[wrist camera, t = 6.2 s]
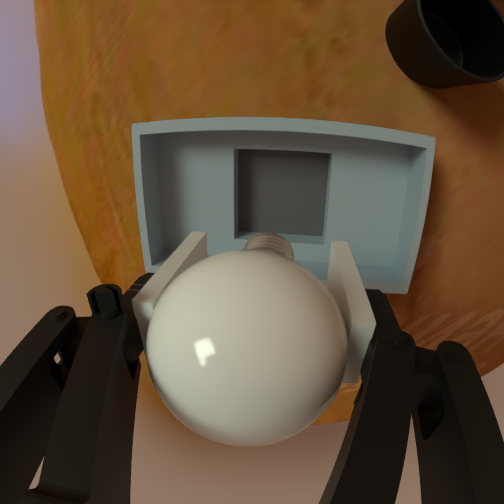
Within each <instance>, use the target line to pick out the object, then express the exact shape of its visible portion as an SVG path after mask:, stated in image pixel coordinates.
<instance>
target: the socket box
mask: <svg viewBox="0 0 504 504" xmlns="http://www.w3.org/2000/svg"><path fill="white" fill-rule="evenodd" d="M435 140H436V138H435V137H431V136H426V135H421V134H416V133H411V132H406V131H400V130H394V129H388V128H382V127H375V126H368V125H361V124H353V123H344V122H334V121H323V120H311V119H295V118H270V117H218V118H194V119H178V120H165V121H155V122H145V123H136V124H132V145H133V163H134V177H135V189H136V200H137V210H138V219H139V227H140V235H141V243H142V250H143V257H144V263H145V270H146V273H148V272H150V273H156V271H157V270H158V269H159V268H160V267H161V266H162V265H163V263H164V262H165V261H166V260H167V259H168V258H169V257H170V256H171V254H172V253H173V252H174V251H175V250H176V249H177V248H178V247H179V246H180V244H181V243H182V242H183V241H184V240H185V239H186V238H187V237H188V236H189V235H190V233H191V232H192V231H193V232H207V254H208V257H209V256H212V255H215V254H218V253H222V252H226V251H232V250H244V247H245V245H246V243H247V242H248V241H249V240H250V239H251V238H252V237H253V236H255V235H257V234H260V233H264V232H271V233H276V234H279V235H281V236H283V237H284V238H285V239H286V240H287V241H288V242H289V243H290V244H291V246H292V248H293V251H294V261H295V262H297V263H299V264H301V265H302V266H304V267H305V268H307V269H308V270H309V271H311V272H312V273H313V274H314V275H315V276H316V277H317V278H319V279H320V280H321V282H322V283H323V284H324V285H325V286H326V280H327V273H328V266H329V259H330V251H331V243H332V240H334V241H347V243H348V246H349V248H350V251H351V253H352V256H353V259H354V261H355V264H356V267H357V269H358V272H359V275H360V277H361V280H362V283H363V286H364V288H365V289H379V290H380V291H381V292H382V293H394V294H407V292H408V289H409V285H410V282H411V278H412V274H413V270H414V267H415V263H416V258H417V254H418V250H419V246H420V241H421V236H422V232H423V227H424V221H425V216H426V211H427V205H428V199H429V192H430V185H431V178H432V170H433V161H434V151H435Z"/></svg>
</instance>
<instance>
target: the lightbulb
mask: <svg viewBox="0 0 504 504" xmlns="http://www.w3.org/2000/svg"><path fill="white" fill-rule="evenodd" d="M146 357H147V365H148V369H149V373H150V376H151V380H152V382H153V385H154V387H155V389H156V391H157V393H158V395H159V397H160V399H161V400H162V401H163V403H164V404H165V406H166V407H167V408H168V409H169V411H170V412H171V413H172V414H173V415H174V416H175V417H176V418H177V419H178V420H179V421H180V422H181V423H183V424H184V425H185V426H187V427H188V428H189V429H191V430H192V431H194V432H196V433H197V434H199V435H202V436H203V437H206V438H208V439H210V440H213V441H216V442H219V443H223V444H228V445H234V446H261V445H267V444H272V443H275V442H279V441H282V440H285V439H287V438H290V437H292V436H294V435H295V434H297V433H299V432H301V431H302V430H304V429H306V428H307V427H308V426H310V425H311V424H312V423H313V422H315V421H316V420H317V419H318V418H319V417H320V416H321V415H322V414H323V413H324V412H325V410H326V409H327V408H328V407H329V405H330V404H331V402H332V401H333V399H334V398H335V396H336V394H337V392H338V390H339V388H340V386H341V383H342V381H343V377H344V374H345V370H346V365H347V358H348V338H347V331H346V326H345V322H344V319H343V316H342V313H341V311H340V308H339V306H338V304H337V302H336V301H335V299H334V297H333V296H332V294H331V293H330V291H329V290H328V289H327V287H326V286H325V285H324V284H323V283H322V282H321V280H320V279H319V278H317V277H316V276H315V275H314V274H313V273H312V272H311V271H309V270H308V269H307V268H305V267H304V266H302V265H301V264H299V263H297V262H295V261H294V251H293V248H292V246H291V244H290V243H289V242H288V241H287V240H286V239H285V238H284V237H283V236H281V235H279V234H276V233H271V232H264V233H260V234H257V235H255V236H253V237H252V238H251V239H250V240H249V241H248V242H247V243H246V245H245V247H244V250H232V251H226V252H222V253H218V254H215V255H212V256H209V257H207V258H205V259H203V260H200V261H199V262H197V263H195V264H193V265H192V266H190V267H189V268H187V269H186V270H185V271H183V272H182V273H181V274H180V275H179V276H177V277H176V278H175V279H174V280H173V281H172V282H171V284H170V285H169V286H168V287H167V288H166V290H165V291H164V292H163V294H162V295H161V297H160V299H159V300H158V302H157V304H156V306H155V308H154V310H153V313H152V316H151V319H150V322H149V326H148V331H147V338H146Z"/></svg>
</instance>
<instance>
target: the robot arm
mask: <svg viewBox="0 0 504 504" xmlns="http://www.w3.org/2000/svg"><path fill="white" fill-rule="evenodd" d="M207 257H208V254H207V232H193V231H192V232H191V233H190V235H189V236H188V237H187V238H186V239H185V240H184V241H183V242H182V243H181V244H180V246H179V247H178V248H177V249H176V250H175V251H174V252H173V253H172V254H171V256H170V257H169V258H168V259H167V260H166V261H165V262H164V263H163V265H162V266H161V267H160V268H159V269H158V270H157V271H156V273H150V272H148V273H146V274H144V275H143V276H141V277H139V278H138V279H137V280H136V281H135V282H134V285H132V286H131V287H130V288H129V290H127V291H126V292H125V293H124V295H123V294H122V290H121V288H120V287H119V286H117V285H115V284H103V285H99V286H97V287H94V288H93V289H91V290H90V291H89V292H88V293H87V297H88V301H89V304H90V308H91V311H92V316H91V317H76V314H75V311H74V309H73V308H72V307H70V306H58V307H55V308H53V309H52V310H50V311H49V312H47V313H46V314H45V316H44V317H43V318H42V319H41V320H40V321H39V322H38V323H37V324H36V325H35V326H34V327H33V329H32V330H31V331H30V332H29V333H28V334H27V335H26V336H25V337H24V339H23V340H22V341H21V342H20V343H19V344H18V346H17V347H16V348H15V349H14V350H13V351H12V353H11V354H10V355H9V356H8V357H7V358H6V360H5V361H4V362H3V363H2V364H1V366H0V504H130V485H131V460H132V445H133V432H134V421H135V411H136V401H137V393H138V384H139V376H140V369H141V364H140V359H139V356H140V354H141V352H142V351H143V350H144V353H145V357H146V338H147V331H148V326H149V322H150V319H151V316H152V313H153V310H154V308H155V306H156V304H157V302H158V300H159V299H160V297H161V295H162V294H163V292H164V291H165V290H166V288H167V287H168V286H169V285H170V284H171V282H172V281H173V280H174V279H175V278H176V277H177V276H179V275H180V274H181V273H182V272H183V271H185V270H186V269H187V268H189V267H190V266H192V265H193V264H195V263H197V262H199V261H200V260H203V259H205V258H207ZM326 287H327V289H328V290H329V291H330V293H331V294H332V296H333V297H334V299H335V301H336V302H337V304H338V306H339V308H340V311H341V313H342V316H343V319H344V322H345V326H346V331H347V338H348V358H347V365H346V370H345V374H344V377H343V381H342V383H357V380H358V378H359V375H360V373H361V379H362V383H361V386H360V388H359V391H358V393H357V396H356V398H355V401H354V403H353V404H355V405H354V409H353V412H352V415H351V419H350V422H349V425H348V428H347V431H346V434H345V437H344V440H343V443H342V446H341V449H340V452H339V454H338V457H337V460H336V463H335V465H334V468H333V470H332V473H331V476H330V478H329V481H328V483H327V485H326V488H325V490H324V493H323V495H322V498H321V500H320V502H319V504H395V501H396V497H397V492H398V488H399V484H400V480H401V475H402V470H403V465H404V460H405V454H406V448H407V442H408V435H409V428H410V419H411V413H412V419H413V426H414V432H415V439H416V447H417V455H418V463H419V474H420V485H421V501H422V504H504V441H503V438H502V435H501V432H500V429H499V425H498V422H497V420H496V417H495V414H494V411H493V408H492V405H491V403H490V400H489V398H488V395H487V392H486V390H485V387H484V385H483V383H482V380H481V378H480V375H479V373H478V370H477V368H476V366H475V364H474V361H473V359H472V357H471V355H470V353H469V351H468V350H467V349H466V348H465V347H464V346H463V345H461V344H460V343H457V342H454V341H443V342H442V343H440V344H439V345H438V348H437V350H436V351H434V350H429V349H425V348H421V347H418V346H416V345H415V341H414V339H413V338H412V337H411V335H409V334H408V333H406V332H404V331H401V329H400V327H399V324H398V322H397V320H396V317H395V315H394V313H393V311H392V308H391V306H390V303H389V301H388V299H387V296H386V295H385V294H383V293H382V292H381V291H380V290H379V289H365V288H364V286H363V283H362V280H361V277H360V275H359V272H358V269H357V267H356V264H355V261H354V259H353V256H352V253H351V251H350V248H349V246H348V243H347V241H334V240H332V243H331V251H330V259H329V266H328V273H327V280H326ZM57 353H58V354H59V357H60V359H61V360H60V362H59V363H58V364H57V363H56V362H55V360H54V357H55V355H56V354H57ZM146 360H147V357H146ZM43 457H44V461H43V466H42V470H41V475H40V480H39V484H38V486H37V487H36V488H34V489H29V487H30V484H31V482H32V480H33V478H34V476H35V474H36V472H37V470H38V468H39V466H40V464H41V462H42V460H43ZM28 489H29V490H28Z"/></svg>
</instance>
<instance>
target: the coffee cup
mask: <svg viewBox="0 0 504 504" xmlns="http://www.w3.org/2000/svg"><path fill="white" fill-rule="evenodd" d="M491 1H492V2H493V3H494V5H495V6H496V7H497V8H498V10H499V11H504V0H491Z"/></svg>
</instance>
